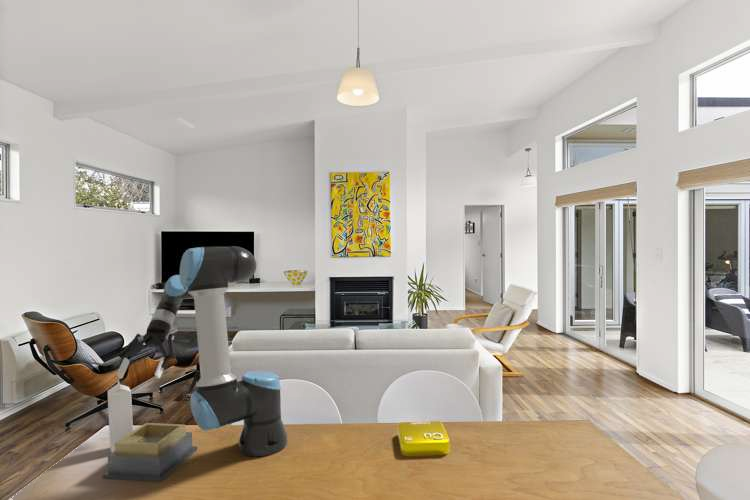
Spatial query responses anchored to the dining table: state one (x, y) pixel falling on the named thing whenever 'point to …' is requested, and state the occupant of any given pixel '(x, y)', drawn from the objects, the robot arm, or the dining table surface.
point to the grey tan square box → (150, 452)
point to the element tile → (423, 438)
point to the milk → (119, 413)
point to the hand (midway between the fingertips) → (138, 376)
